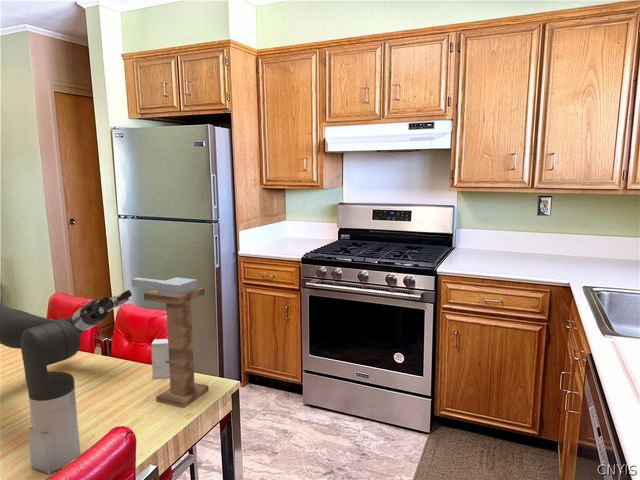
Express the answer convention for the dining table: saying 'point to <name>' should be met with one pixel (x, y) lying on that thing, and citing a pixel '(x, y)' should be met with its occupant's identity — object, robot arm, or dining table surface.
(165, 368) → the skincare box
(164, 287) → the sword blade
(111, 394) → the dining table surface
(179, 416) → the dining table surface
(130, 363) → the dining table surface
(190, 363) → the brown wooden stand
